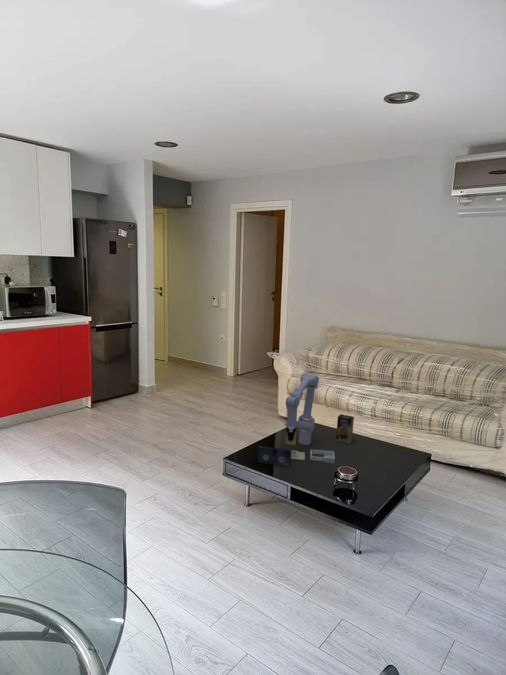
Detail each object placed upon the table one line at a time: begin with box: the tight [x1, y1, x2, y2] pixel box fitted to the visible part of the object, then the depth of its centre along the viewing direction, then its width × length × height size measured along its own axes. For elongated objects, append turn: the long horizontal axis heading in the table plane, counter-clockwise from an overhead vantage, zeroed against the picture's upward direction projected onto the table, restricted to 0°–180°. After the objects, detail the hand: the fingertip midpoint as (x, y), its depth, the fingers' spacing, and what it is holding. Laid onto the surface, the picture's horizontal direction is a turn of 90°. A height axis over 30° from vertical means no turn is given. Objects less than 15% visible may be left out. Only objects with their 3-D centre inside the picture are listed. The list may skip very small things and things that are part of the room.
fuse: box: [284, 430, 297, 446], centre depth 260 cm, size 3×6×7 cm, turn 83°
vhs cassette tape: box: [257, 445, 292, 468], centre depth 250 cm, size 18×3×10 cm, turn 74°
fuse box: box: [290, 449, 306, 461], centre depth 262 cm, size 10×18×2 cm, turn 84°
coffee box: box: [335, 413, 355, 444], centre depth 287 cm, size 9×6×16 cm
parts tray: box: [309, 449, 336, 465], centre depth 260 cm, size 10×14×3 cm
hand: (290, 439), depth 261 cm, fingers closed on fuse, 3 cm apart
